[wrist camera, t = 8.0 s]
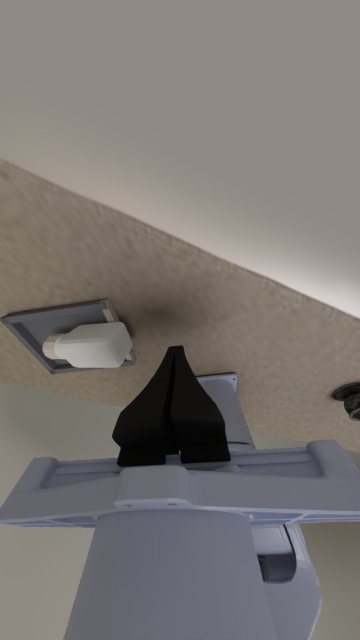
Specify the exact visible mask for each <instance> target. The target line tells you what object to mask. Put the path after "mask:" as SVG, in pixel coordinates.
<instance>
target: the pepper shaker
mask: <svg viewBox="0 0 360 640" xmlns="http://www.w3.org/2000/svg"><path fill="white" fill-rule="evenodd" d="M132 346H133V342H132V340H131V338H130V336H129V333H128V331H127V329H126V327H125V324H124V323H122V322H113V323H100V324H87V325H80V326H78V327H76V328H75V329H73V330H72V331H71V332H69V333H62V334H54V335H52V336H49V337H48V338H47V339H46V340H45V341H44V343H43V348H42V350H43V352H44V355H45V356H46V357H48V358H50V359H66V360H67V361H68V362H69V363H70V364H71V365H72V366H74V367H77V368H117V367H119V366H121V365H122V363H123V362H124V360H125V358H126V357H127V355H128V354H129V352H130V350H131V349H132Z"/></svg>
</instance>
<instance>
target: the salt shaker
mask: <svg viewBox="0 0 360 640" xmlns="http://www.w3.org/2000/svg"><path fill="white" fill-rule="evenodd" d="M332 397H333V398H334V399H335V400H340V401H344V407H345V410H346V412H347V413H348V414H349V418H350V419H351V420H354V421H360V383H352V384H348V385H345V386H342V387H340V388H339V389H337V390H336V391H335V392H334V393H333V394H332Z"/></svg>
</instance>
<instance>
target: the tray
mask: <svg viewBox="0 0 360 640" xmlns="http://www.w3.org/2000/svg"><path fill="white" fill-rule="evenodd" d="M0 320H1V321H2V323H3V324H4V325H5V326H6V327H7V328H8V329H9V330H10V331H11V332H12V333H13V334H14V335H15V336H16V337H17V338H18V339H19V340H20V341H21V342H22V343H23V345H24V346H25V347H26V348H27V349H28V350H29V351H30V352H31V353H32V354H33V355H34V356H35V357H36V358H37V359H38V360H39V361H40V362H41V363H42V364H43V366H44V367H45V368H46V369H47V370H48V371H49V372H50V373H51V374H57V373H66V372H75V371H84V370H93V369H102V368H77V367H74V366H72V365H71V364H70V363H69V362H68V361H67V360H66V359H50V358H48V357H46V356H45V355H44V352H43V350H42V348H43V343H44V341H45V340H46V339H47V338H48V337H49V336H52V335H54V334H62V333H69V332H71V331H72V330H73V329H75V328H76V327H78V326H80V325H87V324H100V323H113V322H120V321H119V319H118V317H117V315H116V312H115V310H114V308H113V306H112V303H111V301H110V299H103V300H97V301H90V302H83V303H77V304H70V305H64V306H57V307H50V308H44V309H37V310H31V311H24V312H18V313H11V314H8V315H6V316H3V317H1V318H0ZM135 360H136V358H135V355H134V353H133V351H132V349H131V350H130V352H129V354H128V355H127V357H126V358H125V360H124V362H123V363H122V365H121V366H128V365H133V364H134V363H135Z"/></svg>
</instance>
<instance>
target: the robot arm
mask: <svg viewBox="0 0 360 640" xmlns="http://www.w3.org/2000/svg"><path fill="white" fill-rule="evenodd" d="M236 386H237V374H235V373H232V374H222V375H213V376H203V377H195V375H194V373H193V372H192V370H191V368H190V366H189V364H188V361H187V359H186V356H185V352H184V347H183V346H182V345H180V346H172V347H169V348H168V350H167V352H166V355H165V357H164V359H163V361H162V363H161V365H160V366H159V368H158V370H157V371H156V373H155V375H154V376H153V377H152V379H151V380H150V382H149V383H148V384H147V386H146V387H145V388H144V389H143V390H142V392H141V393H140V394H139V395H138V396H137V397H136V398H135V399H134V400H133V401H132V402H131V403H130V404H129V405H128V406H127V407H126V408H125V409H124V410H123V411H122V412H121V413H120V415H119V417H118V420H117V422H116V425H115V428H114V431H113V434H112V438H113V439H114V441H115V442H116V443H117V444H118V445H119V446H120V447H121V450H120V453H119V457H118V458H110V459H94V460H93V459H92V460H76V461H58V460H57V459H55V458H52V457H40V458H34V459H33V460H32V461H31V463H30V464H29V466H28V467H27V469H26V470H25V472H24V474H23V475H22V477H21V478H20V480H19V481H18V483H17V484H16V486H15V487H14V489H13V490H12V492H11V493H10V495H9V497H8V498H7V499H6V501H5V502H4V504H3V505H2V507H1V508H0V524H7V525H14V526H21V527H83V528H86V527H87V528H88V527H89V528H95V532H94V535H93V539H92V542H91V546H90V549H89V552H88V556H87V559H86V563H85V566H84V570H83V573H82V577H81V580H80V584H79V587H78V591H77V594H76V597H75V601H74V604H73V608H72V611H71V615H70V618H69V622H68V626H67V629H66V632H65V635H64V639H63V640H310V639H311V636H312V633H313V631H314V628H315V625H316V622H317V619H318V616H319V613H320V610H321V606H322V597H321V594H320V592H319V589H318V586H319V579H318V577H317V574H316V572H315V569H314V567H313V565H312V562H311V559H310V556H309V554H308V551H307V549H306V542H305V540H304V537H303V534H302V532H301V529H300V526H299V524H298V523H313V522H334V521H335V522H337V521H360V471H359V470H358V469H357V467H356V466H355V465H354V464H353V462H352V461H351V460H350V458H349V457H348V456H347V454H346V453H345V452H344V450H343V449H342V448H341V446H340V445H339V444H338V443H337V441H335V440H318V441H312V442H309V443H308V444H307V447H299V448H281V449H264V450H257V449H256V447H255V445H254V443H253V440H252V437H251V434H250V432H249V429H248V426H247V423H246V420H245V418H244V415H243V412H242V409H241V406H240V404H239V401H238V398H237V395H236ZM179 450H180V454H179Z"/></svg>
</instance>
